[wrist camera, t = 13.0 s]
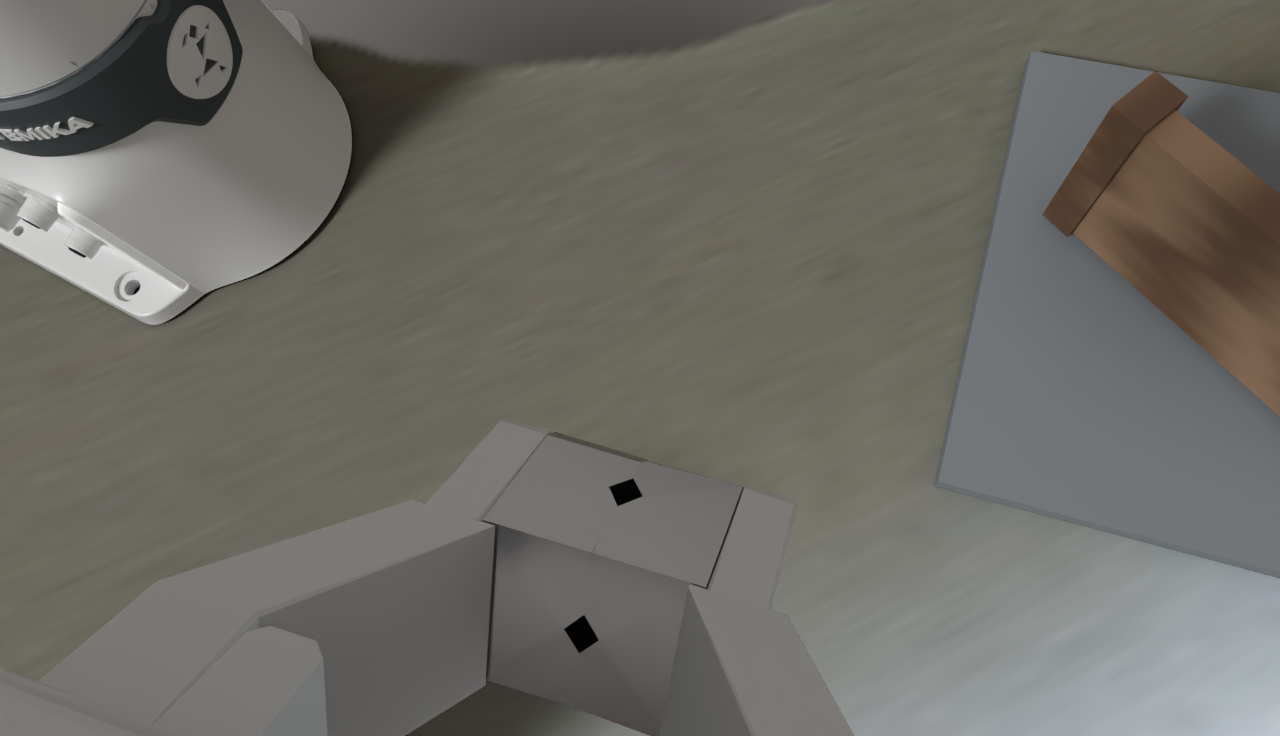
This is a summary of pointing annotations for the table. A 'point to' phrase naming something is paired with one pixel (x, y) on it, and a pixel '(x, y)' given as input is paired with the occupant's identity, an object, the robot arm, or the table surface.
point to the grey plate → (1108, 351)
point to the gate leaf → (1183, 229)
